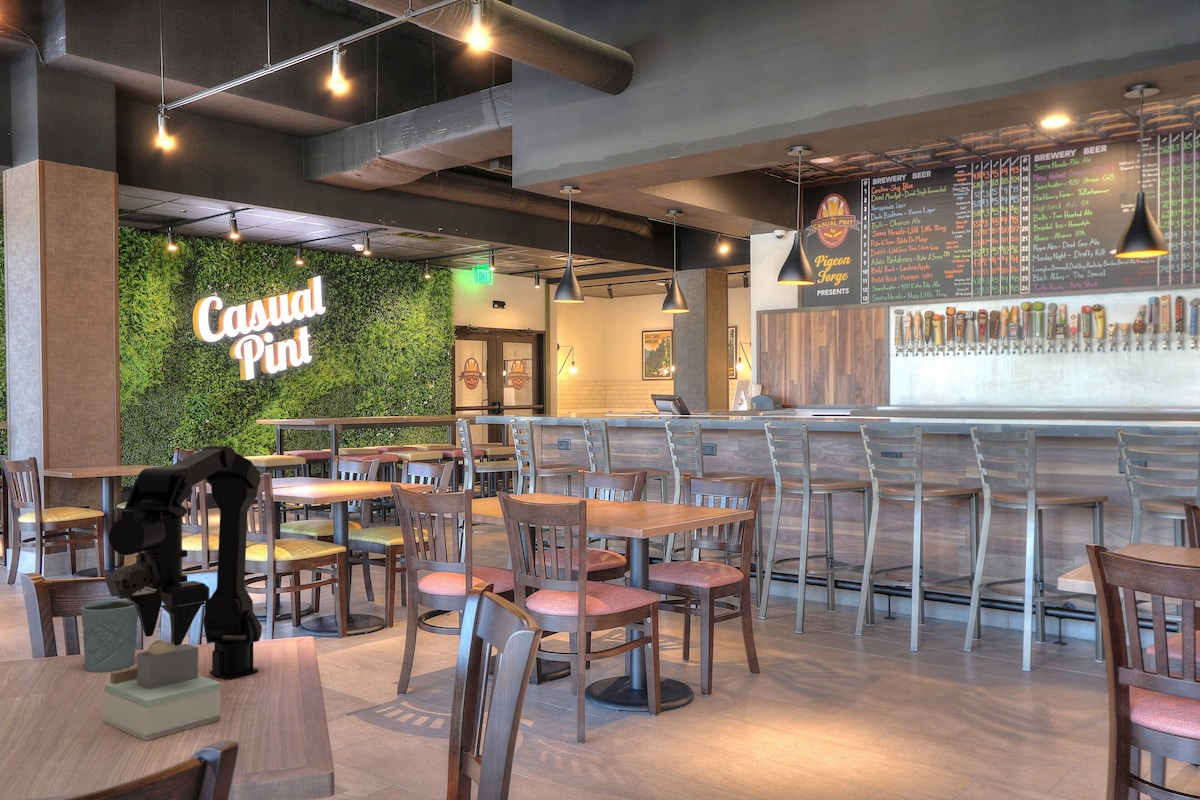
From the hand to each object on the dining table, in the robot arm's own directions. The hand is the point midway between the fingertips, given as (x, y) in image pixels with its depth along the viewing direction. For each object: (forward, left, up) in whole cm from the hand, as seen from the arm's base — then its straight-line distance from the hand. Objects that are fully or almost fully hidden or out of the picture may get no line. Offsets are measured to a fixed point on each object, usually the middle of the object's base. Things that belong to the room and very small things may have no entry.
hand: (162, 640), depth 152 cm
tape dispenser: (0, +2, -6) cm, 7 cm away
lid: (+1, +3, -7) cm, 8 cm away
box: (+1, +2, -12) cm, 13 cm away
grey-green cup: (-9, -38, -13) cm, 41 cm away
